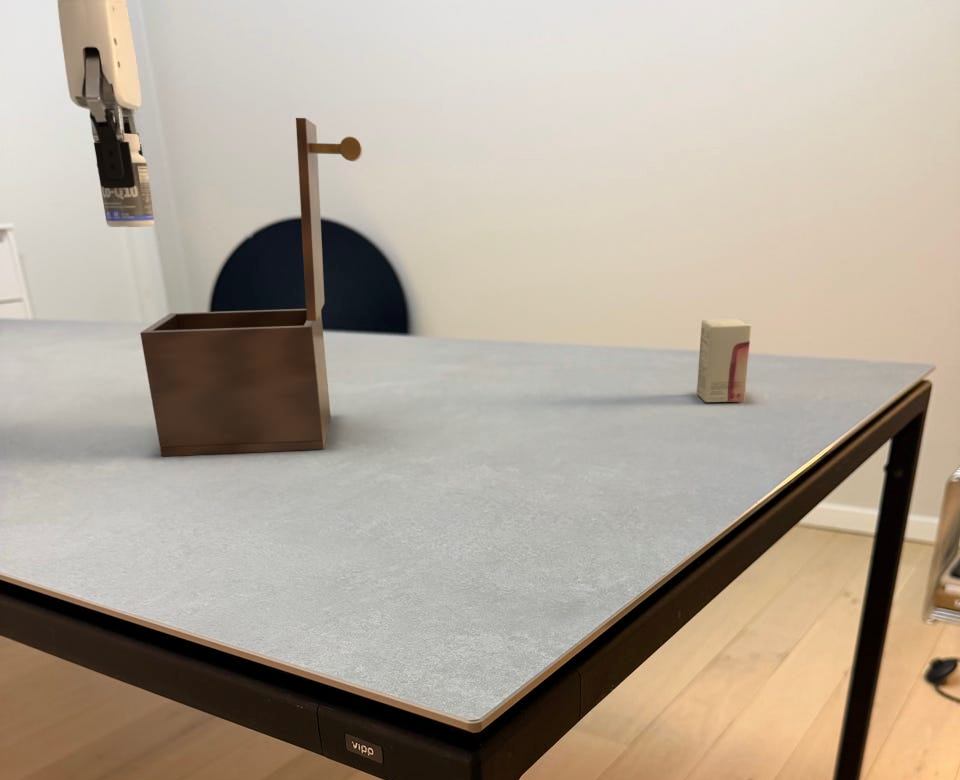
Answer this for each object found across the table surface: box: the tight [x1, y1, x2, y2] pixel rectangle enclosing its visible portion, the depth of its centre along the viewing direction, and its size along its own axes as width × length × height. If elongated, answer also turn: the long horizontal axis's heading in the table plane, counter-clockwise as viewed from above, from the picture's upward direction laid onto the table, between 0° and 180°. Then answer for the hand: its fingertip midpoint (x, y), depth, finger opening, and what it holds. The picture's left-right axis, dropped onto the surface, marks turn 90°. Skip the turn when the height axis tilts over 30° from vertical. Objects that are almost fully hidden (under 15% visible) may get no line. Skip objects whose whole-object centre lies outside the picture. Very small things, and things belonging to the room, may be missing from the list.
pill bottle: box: [96, 134, 155, 228], centre depth 96 cm, size 5×5×8 cm
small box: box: [696, 318, 752, 403], centre depth 101 cm, size 5×4×8 cm
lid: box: [295, 117, 363, 321], centre depth 84 cm, size 15×13×5 cm
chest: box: [139, 308, 332, 457], centre depth 90 cm, size 15×13×11 cm
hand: (124, 185), depth 96 cm, fingers closed on pill bottle, 4 cm apart
